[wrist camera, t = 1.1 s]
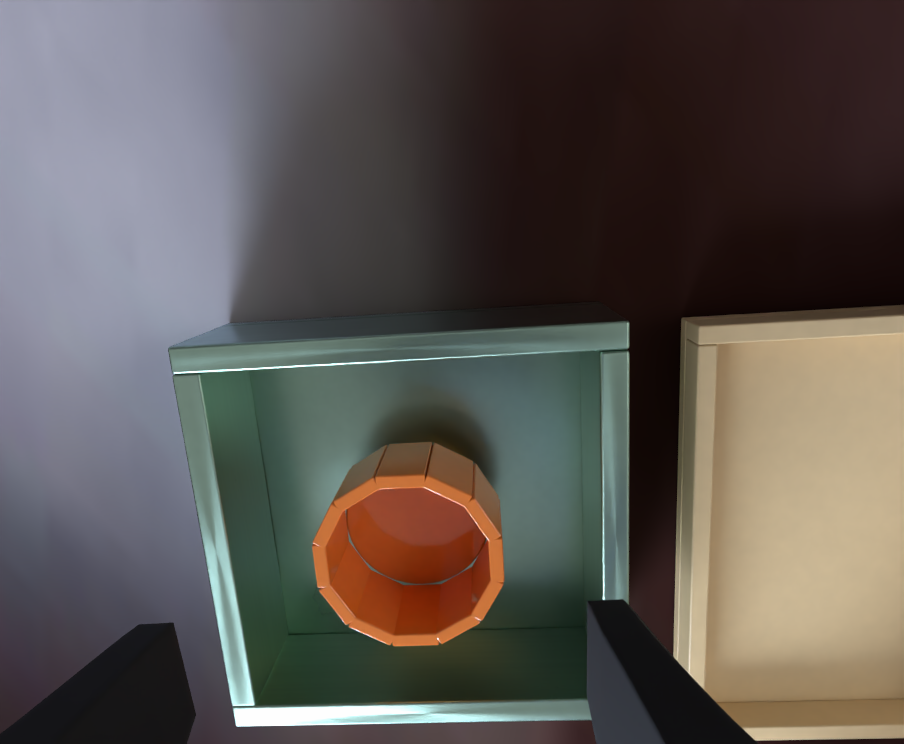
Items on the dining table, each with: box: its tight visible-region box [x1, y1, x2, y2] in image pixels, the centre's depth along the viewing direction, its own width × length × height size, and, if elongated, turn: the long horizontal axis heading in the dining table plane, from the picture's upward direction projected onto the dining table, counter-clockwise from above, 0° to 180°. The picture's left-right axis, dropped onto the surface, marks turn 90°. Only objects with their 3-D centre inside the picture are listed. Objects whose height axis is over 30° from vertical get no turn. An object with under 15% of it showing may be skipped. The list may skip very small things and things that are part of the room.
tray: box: [673, 305, 904, 740], centre depth 20 cm, size 15×10×2 cm
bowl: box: [312, 442, 505, 646], centre depth 19 cm, size 5×5×4 cm
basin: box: [168, 301, 630, 726], centre depth 20 cm, size 13×13×4 cm
